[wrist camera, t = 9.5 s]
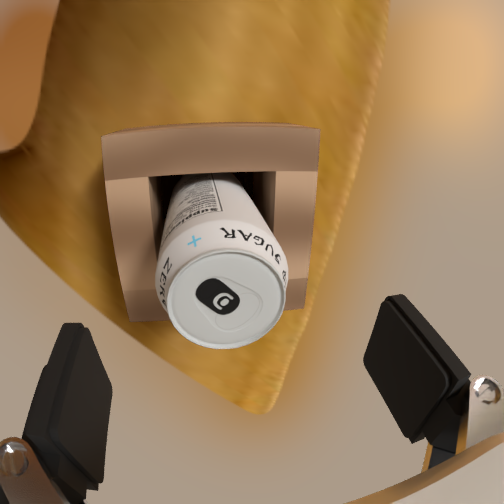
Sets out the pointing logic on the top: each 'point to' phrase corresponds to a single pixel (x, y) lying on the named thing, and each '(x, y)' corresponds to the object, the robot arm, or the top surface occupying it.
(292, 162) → the well
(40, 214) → the top surface
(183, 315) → the energy drink can
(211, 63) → the top surface
